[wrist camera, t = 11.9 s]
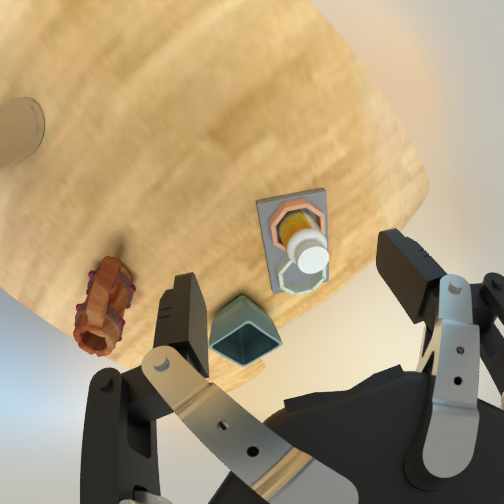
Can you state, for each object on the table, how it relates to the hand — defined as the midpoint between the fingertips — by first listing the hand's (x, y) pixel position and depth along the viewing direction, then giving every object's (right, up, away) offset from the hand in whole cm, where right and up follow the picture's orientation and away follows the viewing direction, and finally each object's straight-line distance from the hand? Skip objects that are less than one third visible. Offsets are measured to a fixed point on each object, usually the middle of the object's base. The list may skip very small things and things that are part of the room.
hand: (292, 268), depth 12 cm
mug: (-24, -2, +32) cm, 39 cm away
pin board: (+5, +2, +33) cm, 34 cm away
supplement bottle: (+5, +5, +30) cm, 31 cm away
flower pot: (-4, -9, +40) cm, 41 cm away
